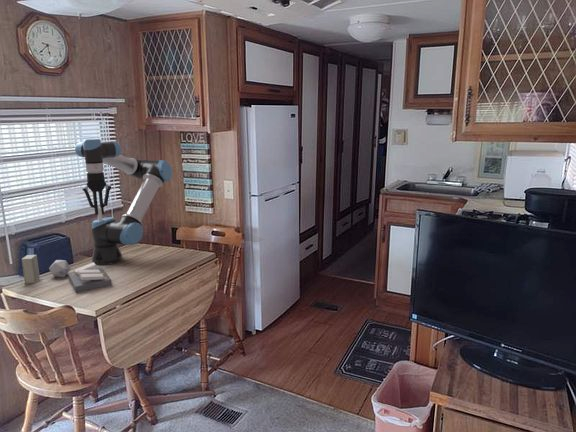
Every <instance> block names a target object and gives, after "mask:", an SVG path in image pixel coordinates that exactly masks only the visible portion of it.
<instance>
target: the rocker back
mask: <svg viewBox="0 0 576 432" xmlns="http://www.w3.org/2000/svg"><path fill="white" fill-rule="evenodd" d="M94 268H97V264H95V263H94V262H93V263H92V262H90V263H88V264H86V265H84V266H80V267H78V268H75V269H74V272H76V274H77V275H78V270H91V269H94Z"/></svg>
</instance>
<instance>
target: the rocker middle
mask: <svg viewBox="0 0 576 432" xmlns="http://www.w3.org/2000/svg"><path fill="white" fill-rule="evenodd" d="M80 274H100V271H99V269H97V270H78V275H79V276H80Z"/></svg>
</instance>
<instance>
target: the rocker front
mask: <svg viewBox="0 0 576 432" xmlns="http://www.w3.org/2000/svg"><path fill="white" fill-rule="evenodd" d="M80 278H81V280H99V279H104V276H103V275H102V274H80Z"/></svg>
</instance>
